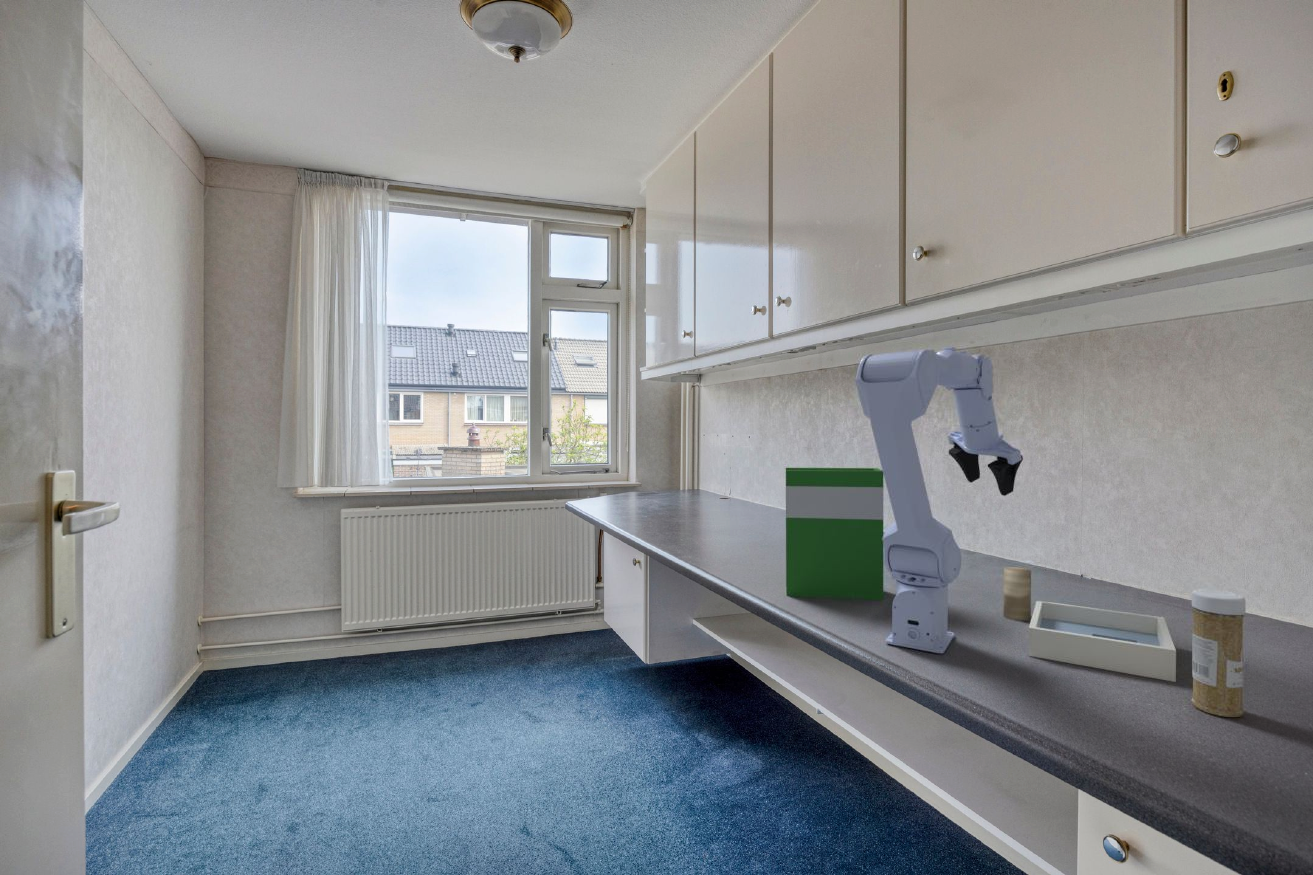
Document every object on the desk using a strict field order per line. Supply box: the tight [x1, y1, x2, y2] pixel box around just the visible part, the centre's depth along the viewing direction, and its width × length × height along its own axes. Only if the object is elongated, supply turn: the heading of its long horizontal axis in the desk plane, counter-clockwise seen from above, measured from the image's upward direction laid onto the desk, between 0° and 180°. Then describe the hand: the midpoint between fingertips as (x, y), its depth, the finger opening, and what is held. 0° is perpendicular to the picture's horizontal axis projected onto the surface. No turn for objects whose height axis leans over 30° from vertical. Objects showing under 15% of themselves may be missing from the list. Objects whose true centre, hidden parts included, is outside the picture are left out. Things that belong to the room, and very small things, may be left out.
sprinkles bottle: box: [1191, 588, 1247, 718], centre depth 71 cm, size 5×5×14 cm
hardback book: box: [785, 467, 884, 601], centre depth 121 cm, size 18×7×24 cm, turn 79°
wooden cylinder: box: [1002, 566, 1032, 622], centre depth 105 cm, size 4×4×8 cm
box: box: [1028, 600, 1177, 683], centre depth 90 cm, size 16×16×4 cm
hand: (990, 486), depth 113 cm, fingers open, 7 cm apart
